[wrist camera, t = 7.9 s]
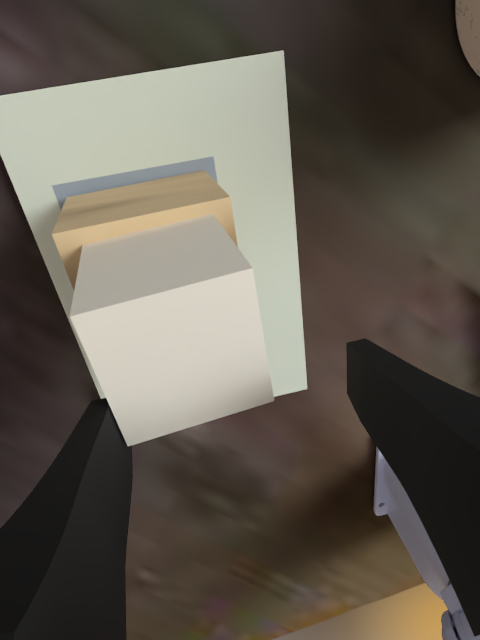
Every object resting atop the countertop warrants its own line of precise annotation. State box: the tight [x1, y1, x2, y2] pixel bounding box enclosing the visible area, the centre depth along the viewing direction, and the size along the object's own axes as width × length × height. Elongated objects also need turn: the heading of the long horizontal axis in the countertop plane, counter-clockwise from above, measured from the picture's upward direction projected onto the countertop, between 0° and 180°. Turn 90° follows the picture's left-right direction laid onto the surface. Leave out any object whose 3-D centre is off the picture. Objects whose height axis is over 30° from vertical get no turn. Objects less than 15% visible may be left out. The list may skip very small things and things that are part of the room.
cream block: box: [70, 213, 274, 446], centre depth 13 cm, size 4×4×5 cm
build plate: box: [0, 50, 307, 399], centre depth 21 cm, size 18×12×1 cm, turn 8°
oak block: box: [52, 170, 238, 290], centre depth 18 cm, size 6×6×5 cm
